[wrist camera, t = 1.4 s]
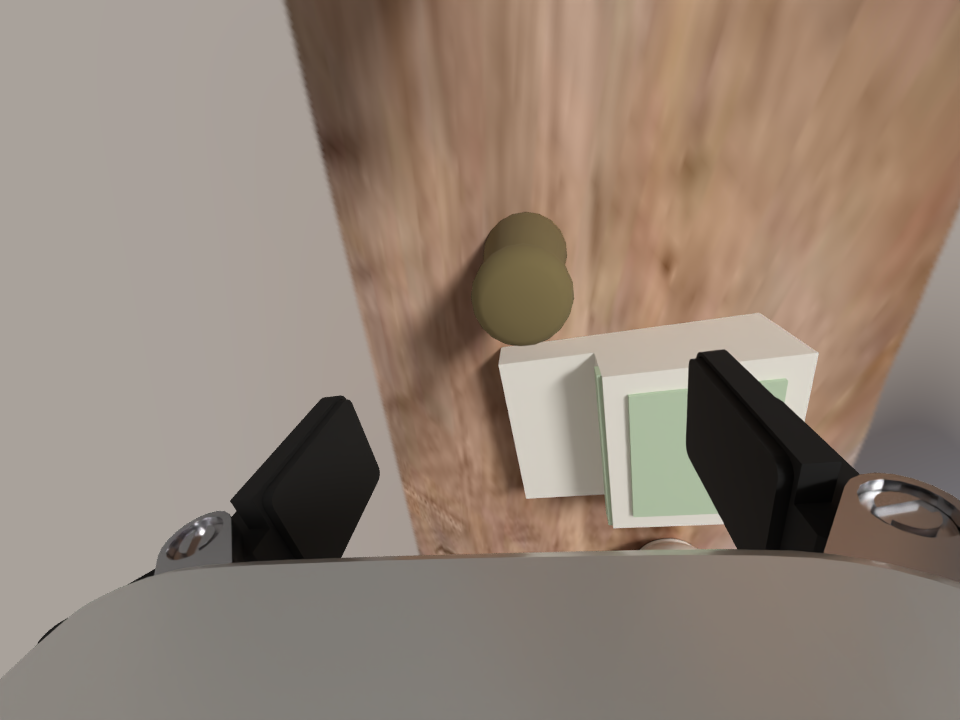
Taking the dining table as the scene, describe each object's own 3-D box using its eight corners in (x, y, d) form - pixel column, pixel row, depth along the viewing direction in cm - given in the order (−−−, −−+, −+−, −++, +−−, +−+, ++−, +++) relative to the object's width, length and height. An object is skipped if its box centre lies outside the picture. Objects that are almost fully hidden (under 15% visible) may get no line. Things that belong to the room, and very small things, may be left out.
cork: (514, 310, 30) (506, 383, 20) (466, 246, 28) (432, 293, 18) (582, 265, 28) (611, 322, 18) (536, 192, 26) (539, 212, 16)
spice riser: (501, 347, 31) (493, 391, 25) (759, 312, 28) (822, 355, 22) (526, 474, 37) (525, 534, 31) (741, 460, 34) (786, 525, 28)
